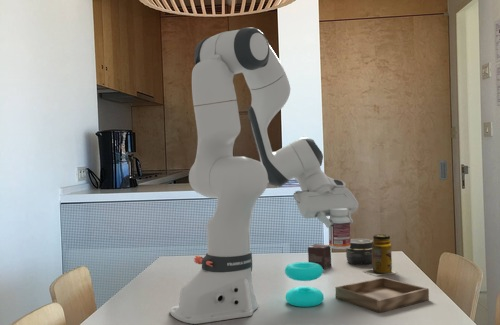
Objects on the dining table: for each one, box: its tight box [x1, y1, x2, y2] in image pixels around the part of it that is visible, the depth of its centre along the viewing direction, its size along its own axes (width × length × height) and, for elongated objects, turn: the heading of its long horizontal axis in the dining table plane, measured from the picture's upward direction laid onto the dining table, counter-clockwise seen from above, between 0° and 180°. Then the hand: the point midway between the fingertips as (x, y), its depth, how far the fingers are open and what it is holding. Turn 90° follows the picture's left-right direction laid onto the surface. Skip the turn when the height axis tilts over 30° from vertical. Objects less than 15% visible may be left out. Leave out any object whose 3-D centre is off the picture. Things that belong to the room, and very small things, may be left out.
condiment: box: [363, 233, 398, 277], centre depth 170 cm, size 7×8×12 cm
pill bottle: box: [328, 208, 351, 250], centre depth 153 cm, size 6×6×11 cm
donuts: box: [284, 261, 325, 308], centre depth 139 cm, size 10×10×10 cm
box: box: [307, 243, 332, 270], centre depth 180 cm, size 6×6×7 cm
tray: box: [335, 277, 430, 314], centre depth 140 cm, size 18×16×3 cm
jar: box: [345, 238, 373, 266], centre depth 186 cm, size 10×10×8 cm
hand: (340, 225), depth 153 cm, fingers closed on pill bottle, 6 cm apart
